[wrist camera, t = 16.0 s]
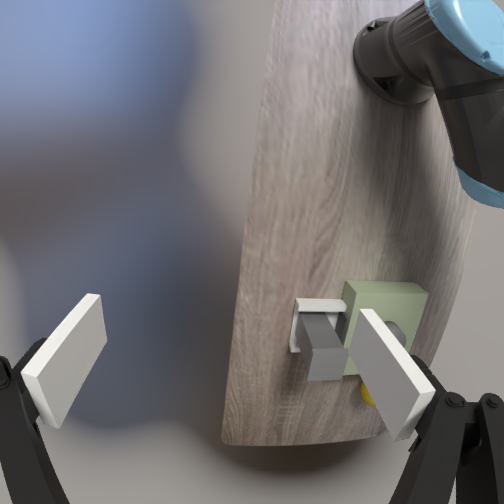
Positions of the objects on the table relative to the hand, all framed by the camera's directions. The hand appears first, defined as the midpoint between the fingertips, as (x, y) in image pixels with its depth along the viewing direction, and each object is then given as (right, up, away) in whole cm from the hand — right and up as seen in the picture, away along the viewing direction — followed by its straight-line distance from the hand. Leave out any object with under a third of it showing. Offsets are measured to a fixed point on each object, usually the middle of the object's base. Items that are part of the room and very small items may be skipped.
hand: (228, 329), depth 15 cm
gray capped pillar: (+11, -8, +36) cm, 39 cm away
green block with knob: (+19, -9, +37) cm, 43 cm away
